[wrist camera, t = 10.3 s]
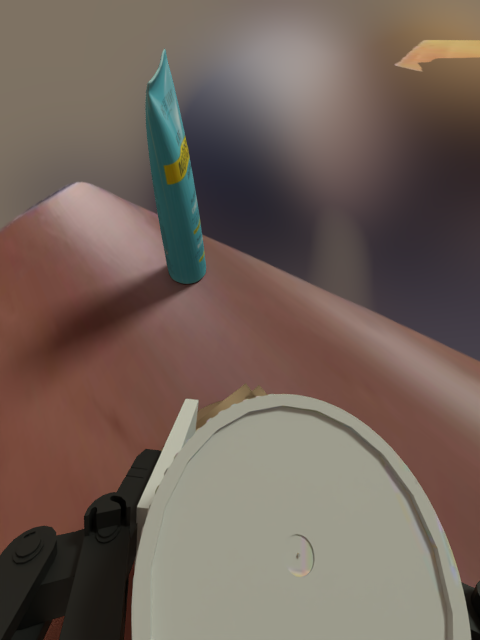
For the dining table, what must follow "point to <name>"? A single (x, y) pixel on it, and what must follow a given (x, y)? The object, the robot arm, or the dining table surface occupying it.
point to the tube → (173, 180)
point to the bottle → (293, 535)
